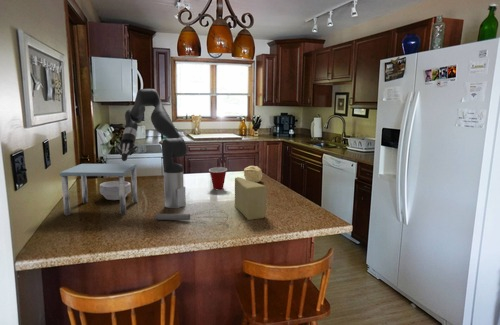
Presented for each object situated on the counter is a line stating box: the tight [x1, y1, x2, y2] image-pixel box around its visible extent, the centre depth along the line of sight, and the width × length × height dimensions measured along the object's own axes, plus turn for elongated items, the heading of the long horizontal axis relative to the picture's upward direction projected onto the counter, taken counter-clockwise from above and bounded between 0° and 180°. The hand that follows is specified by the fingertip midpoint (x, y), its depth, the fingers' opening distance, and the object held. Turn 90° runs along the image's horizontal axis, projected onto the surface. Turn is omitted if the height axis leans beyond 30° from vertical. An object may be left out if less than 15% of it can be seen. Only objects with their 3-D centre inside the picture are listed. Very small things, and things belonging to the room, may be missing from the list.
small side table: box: [59, 163, 138, 216], centre depth 162 cm, size 22×27×20 cm
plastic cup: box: [208, 166, 228, 190], centre depth 203 cm, size 11×11×12 cm
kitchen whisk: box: [152, 209, 229, 226], centre depth 146 cm, size 6×34×6 cm, turn 81°
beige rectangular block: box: [234, 176, 267, 221], centre depth 159 cm, size 22×10×15 cm, turn 27°
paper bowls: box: [99, 180, 132, 201], centre depth 180 cm, size 15×15×8 cm
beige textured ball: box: [243, 165, 263, 183], centre depth 222 cm, size 11×12×11 cm
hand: (123, 160), depth 194 cm, fingers closed
